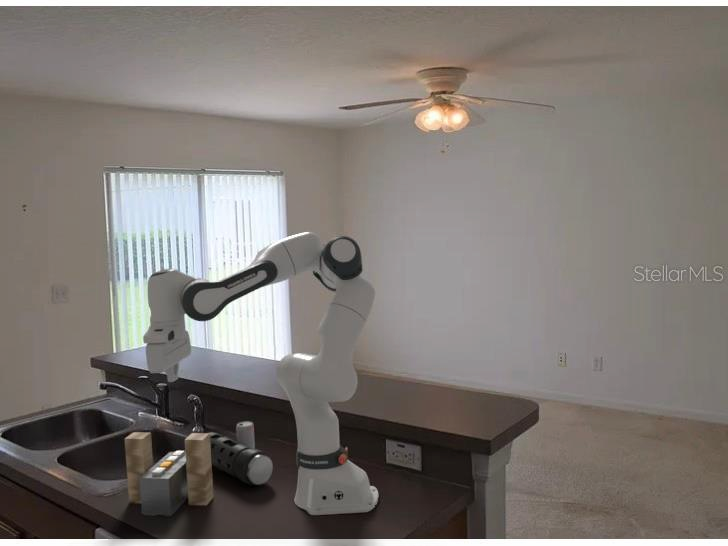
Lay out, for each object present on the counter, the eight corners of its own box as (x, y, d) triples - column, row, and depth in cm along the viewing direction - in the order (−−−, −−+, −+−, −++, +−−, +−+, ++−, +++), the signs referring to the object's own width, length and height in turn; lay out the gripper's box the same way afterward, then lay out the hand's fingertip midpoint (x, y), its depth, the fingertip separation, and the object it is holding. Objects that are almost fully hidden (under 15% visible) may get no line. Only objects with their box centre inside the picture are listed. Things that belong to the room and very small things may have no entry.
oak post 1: (155, 495, 178) (150, 432, 177) (146, 503, 174) (142, 438, 172) (138, 494, 179) (133, 432, 177) (129, 503, 174) (124, 438, 173)
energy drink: (241, 457, 204) (239, 420, 203) (257, 458, 203) (255, 421, 202) (235, 464, 199) (233, 426, 198) (252, 464, 198) (250, 426, 197)
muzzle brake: (223, 459, 204) (221, 427, 203) (276, 484, 183) (274, 449, 182) (196, 468, 197) (194, 435, 196) (247, 495, 177) (246, 458, 176)
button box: (198, 486, 183) (196, 449, 182) (171, 516, 166) (168, 474, 165) (172, 485, 185) (169, 448, 184) (142, 515, 167) (139, 474, 166)
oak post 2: (213, 497, 176) (209, 433, 174) (206, 505, 171) (202, 439, 169) (196, 496, 177) (192, 433, 175) (188, 504, 172) (184, 439, 170)
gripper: (173, 322, 182) (177, 370, 183) (139, 338, 161) (144, 392, 163) (194, 322, 181) (198, 369, 182) (163, 337, 161) (168, 391, 162)
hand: (173, 380), depth 173 cm, fingers closed
